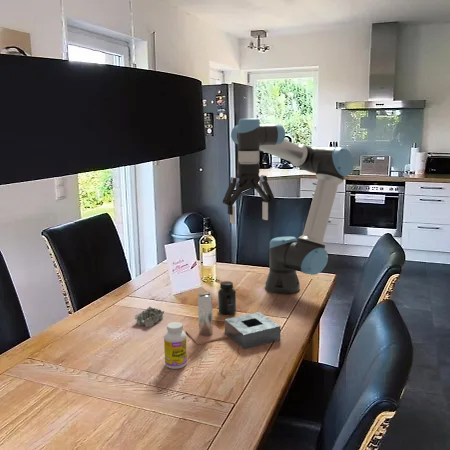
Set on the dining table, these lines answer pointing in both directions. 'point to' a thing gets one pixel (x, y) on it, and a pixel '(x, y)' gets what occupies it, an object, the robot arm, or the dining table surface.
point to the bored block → (252, 330)
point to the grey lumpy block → (153, 317)
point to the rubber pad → (204, 339)
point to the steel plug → (205, 314)
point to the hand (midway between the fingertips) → (249, 221)
